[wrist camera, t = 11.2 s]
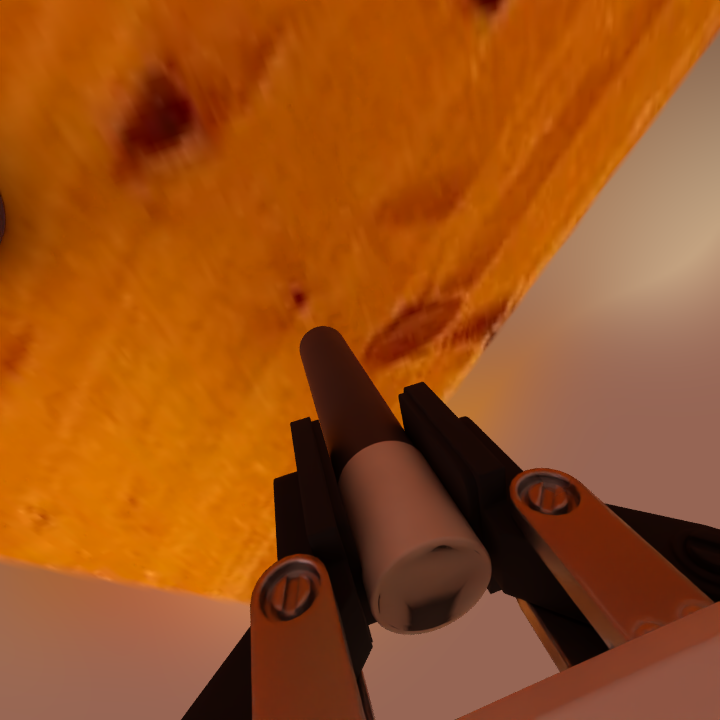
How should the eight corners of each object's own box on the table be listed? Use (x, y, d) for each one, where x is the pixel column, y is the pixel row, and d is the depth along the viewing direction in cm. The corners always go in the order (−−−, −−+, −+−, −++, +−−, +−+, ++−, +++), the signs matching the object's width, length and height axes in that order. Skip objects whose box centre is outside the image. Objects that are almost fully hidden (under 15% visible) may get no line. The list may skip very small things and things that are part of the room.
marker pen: (339, 319, 18) (488, 520, 6) (349, 362, 19) (496, 607, 7) (292, 332, 18) (358, 568, 6) (305, 375, 19) (384, 653, 7)
